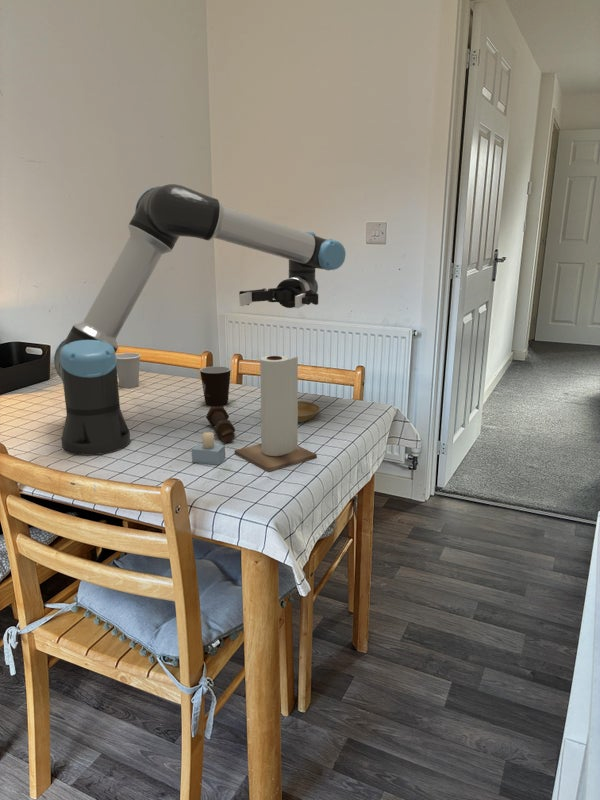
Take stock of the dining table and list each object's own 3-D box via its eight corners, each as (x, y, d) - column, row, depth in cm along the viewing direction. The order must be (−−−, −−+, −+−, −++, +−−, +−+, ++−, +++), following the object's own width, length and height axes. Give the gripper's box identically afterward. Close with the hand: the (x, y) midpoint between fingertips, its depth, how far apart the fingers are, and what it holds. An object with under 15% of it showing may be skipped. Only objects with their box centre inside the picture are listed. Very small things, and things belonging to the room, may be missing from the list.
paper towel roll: (257, 455, 128) (255, 359, 122) (267, 446, 133) (266, 353, 127) (288, 459, 126) (288, 361, 120) (297, 449, 131) (297, 355, 125)
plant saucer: (256, 413, 160) (256, 404, 160) (303, 406, 167) (303, 397, 166) (279, 429, 148) (279, 419, 147) (329, 420, 154) (330, 411, 154)
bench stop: (200, 455, 130) (198, 429, 128) (225, 458, 128) (224, 432, 127) (192, 462, 126) (191, 435, 124) (218, 464, 124) (217, 438, 123)
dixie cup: (110, 386, 186) (107, 355, 184) (131, 381, 193) (129, 351, 190) (127, 390, 182) (124, 359, 179) (148, 385, 188) (146, 354, 185)
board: (268, 472, 121) (268, 468, 121) (234, 453, 131) (234, 450, 131) (316, 457, 129) (316, 454, 128) (281, 441, 138) (281, 438, 138)
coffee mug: (229, 408, 164) (228, 373, 162) (199, 407, 165) (197, 373, 162) (234, 396, 176) (233, 364, 173) (206, 396, 176) (204, 363, 173)
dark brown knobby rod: (225, 451, 137) (214, 429, 151) (243, 439, 138) (231, 418, 151) (212, 432, 135) (202, 412, 149) (231, 420, 135) (219, 401, 149)
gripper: (338, 308, 155) (320, 319, 135) (249, 304, 161) (219, 315, 141) (338, 279, 153) (320, 286, 133) (248, 277, 159) (218, 283, 139)
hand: (268, 301), depth 137 cm, fingers open, 13 cm apart
